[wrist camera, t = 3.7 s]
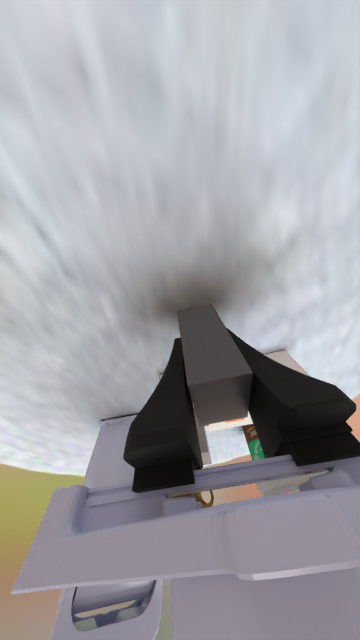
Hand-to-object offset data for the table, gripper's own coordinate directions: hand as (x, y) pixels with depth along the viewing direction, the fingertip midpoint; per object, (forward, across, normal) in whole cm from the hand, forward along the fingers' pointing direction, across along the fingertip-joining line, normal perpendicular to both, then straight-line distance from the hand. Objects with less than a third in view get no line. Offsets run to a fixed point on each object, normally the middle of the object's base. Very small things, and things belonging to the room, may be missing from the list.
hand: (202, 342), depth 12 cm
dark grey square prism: (+2, 0, 0) cm, 2 cm away
